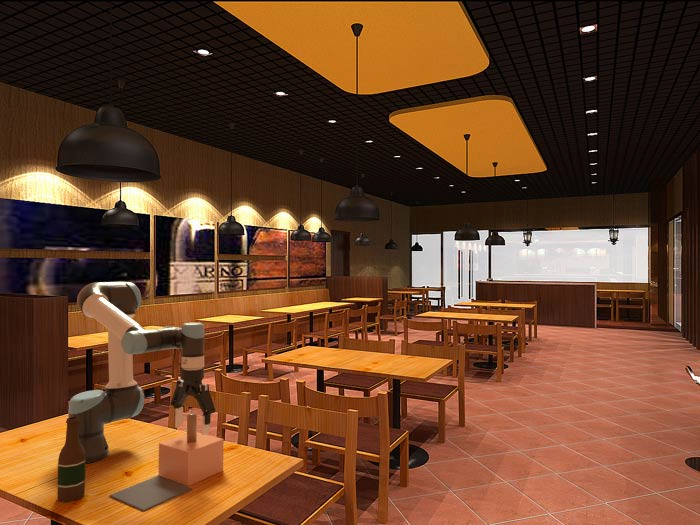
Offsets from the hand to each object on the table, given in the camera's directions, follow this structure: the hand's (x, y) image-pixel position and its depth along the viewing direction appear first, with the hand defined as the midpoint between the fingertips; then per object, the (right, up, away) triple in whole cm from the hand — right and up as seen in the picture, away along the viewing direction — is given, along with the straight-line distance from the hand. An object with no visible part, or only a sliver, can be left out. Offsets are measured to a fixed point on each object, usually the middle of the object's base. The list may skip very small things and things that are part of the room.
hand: (191, 430), depth 168 cm
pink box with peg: (0, -15, 0) cm, 15 cm away
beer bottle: (-31, -14, -19) cm, 39 cm away
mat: (-8, -14, -16) cm, 22 cm away
